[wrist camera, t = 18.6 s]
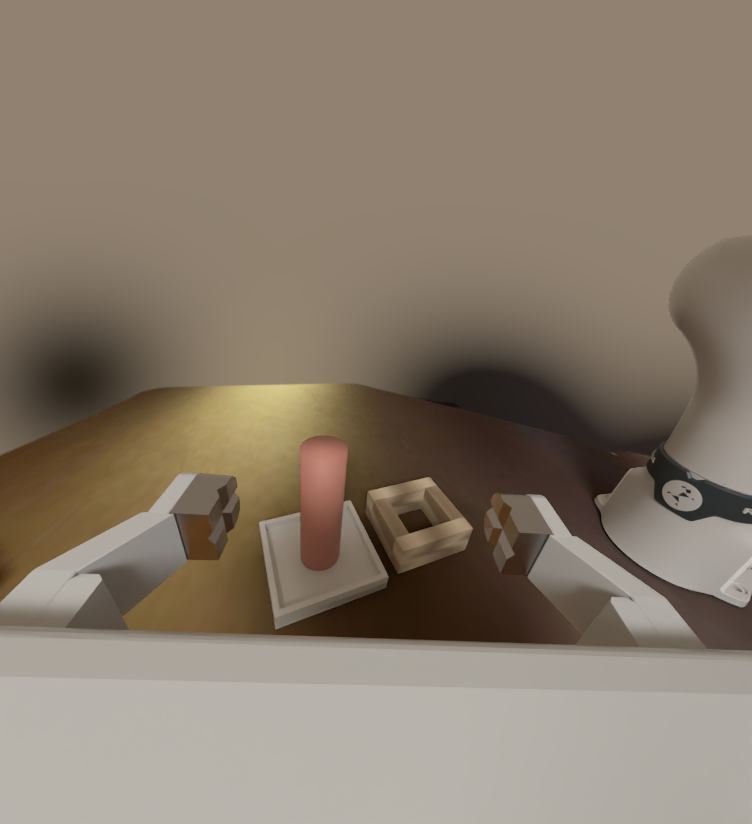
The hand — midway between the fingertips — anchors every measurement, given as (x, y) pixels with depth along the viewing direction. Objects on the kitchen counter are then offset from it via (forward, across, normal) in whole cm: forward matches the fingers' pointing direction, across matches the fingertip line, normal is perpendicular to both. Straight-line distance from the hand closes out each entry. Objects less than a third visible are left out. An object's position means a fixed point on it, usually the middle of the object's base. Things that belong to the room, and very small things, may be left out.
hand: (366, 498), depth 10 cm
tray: (+17, +4, +27) cm, 32 cm away
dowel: (+17, +4, +26) cm, 31 cm away
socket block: (+22, -8, +27) cm, 36 cm away
